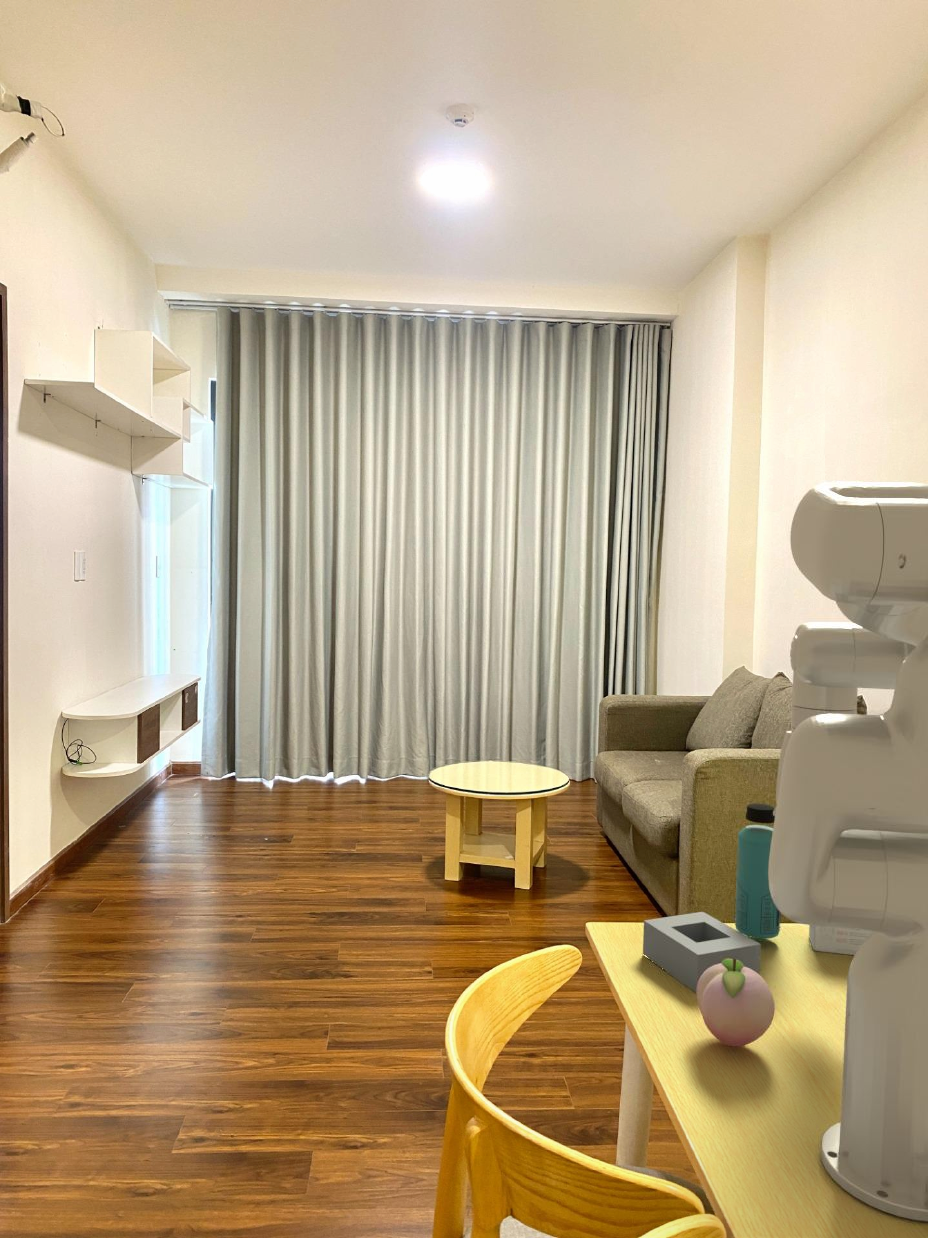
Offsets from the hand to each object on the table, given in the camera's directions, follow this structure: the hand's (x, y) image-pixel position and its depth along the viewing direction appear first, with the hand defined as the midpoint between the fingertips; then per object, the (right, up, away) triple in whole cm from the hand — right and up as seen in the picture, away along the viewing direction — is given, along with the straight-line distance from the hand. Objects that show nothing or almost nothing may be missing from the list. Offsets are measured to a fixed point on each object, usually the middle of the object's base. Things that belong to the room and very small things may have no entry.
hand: (817, 866), depth 113 cm
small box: (+10, -17, +18) cm, 26 cm away
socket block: (-12, -16, +9) cm, 22 cm away
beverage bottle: (-1, -16, +19) cm, 25 cm away
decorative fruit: (-14, -18, -11) cm, 25 cm away
